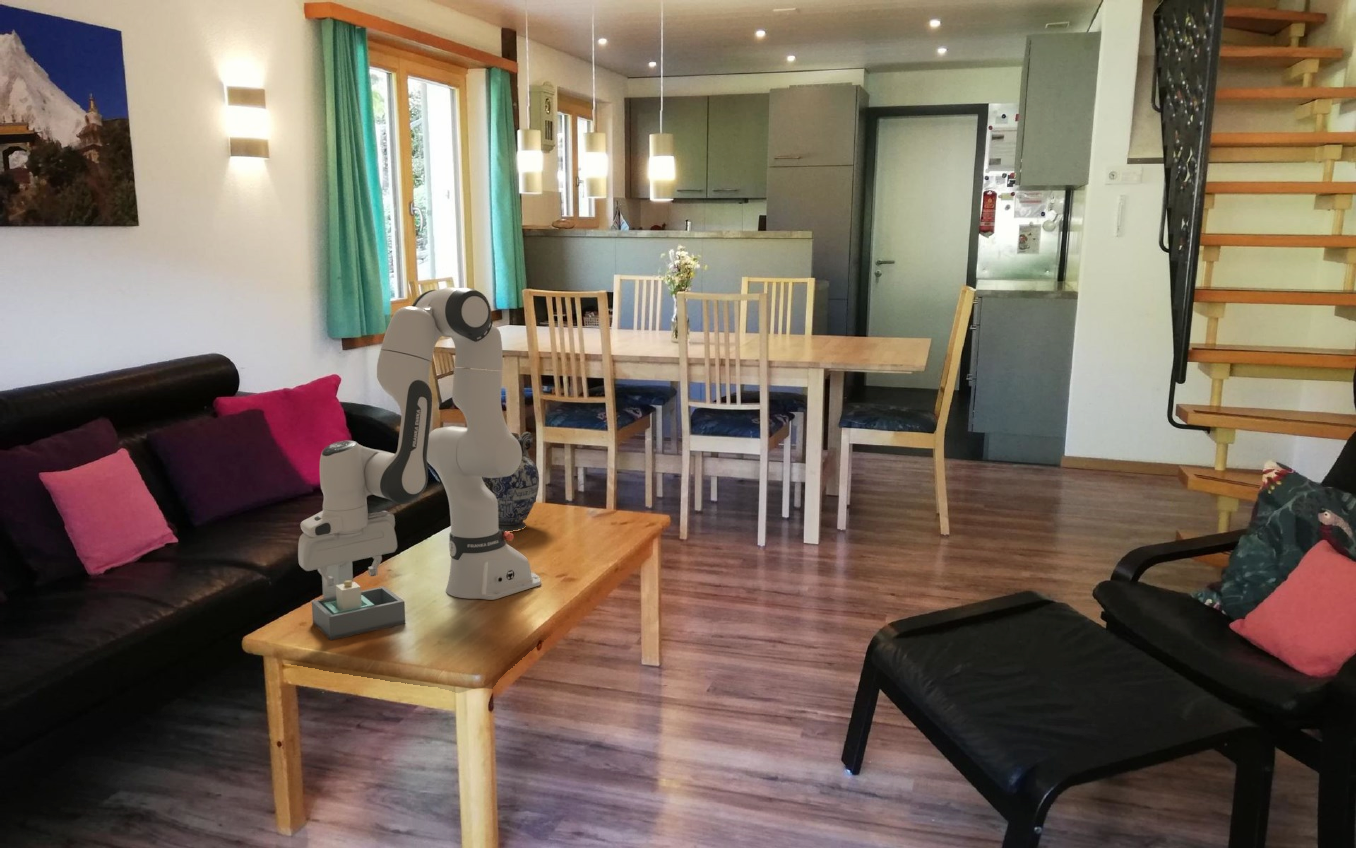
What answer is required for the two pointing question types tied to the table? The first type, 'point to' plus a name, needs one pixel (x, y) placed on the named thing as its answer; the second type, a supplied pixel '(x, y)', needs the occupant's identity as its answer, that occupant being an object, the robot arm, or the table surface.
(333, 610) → the inlet socket
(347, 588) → the plug
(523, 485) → the decorative vase
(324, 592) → the skincare box
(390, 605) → the organiser box
